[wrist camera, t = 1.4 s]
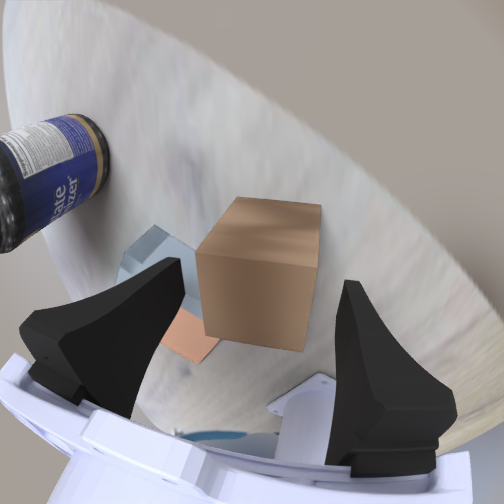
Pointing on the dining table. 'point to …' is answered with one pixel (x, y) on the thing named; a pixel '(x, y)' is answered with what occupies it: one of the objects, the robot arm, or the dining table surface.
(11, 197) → the pill bottle
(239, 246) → the walnut block
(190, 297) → the light blue angle bracket
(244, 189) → the dining table surface
